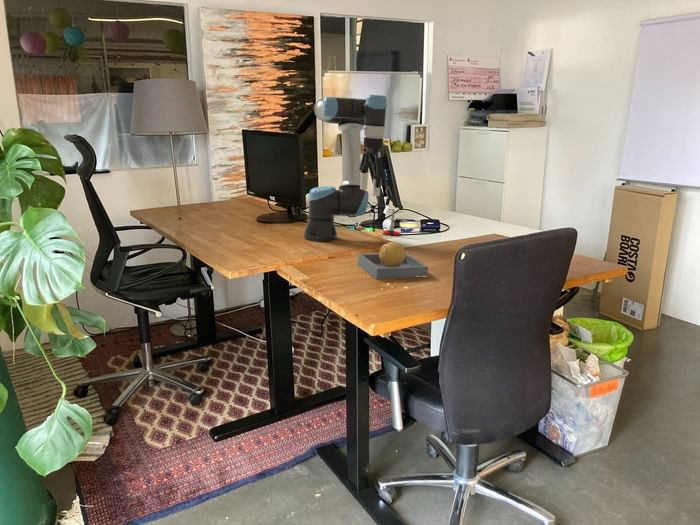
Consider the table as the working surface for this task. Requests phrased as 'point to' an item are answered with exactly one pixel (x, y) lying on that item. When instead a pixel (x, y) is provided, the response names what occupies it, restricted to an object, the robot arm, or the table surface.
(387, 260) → the stress ball
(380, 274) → the tray
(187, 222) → the table surface
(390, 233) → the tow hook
